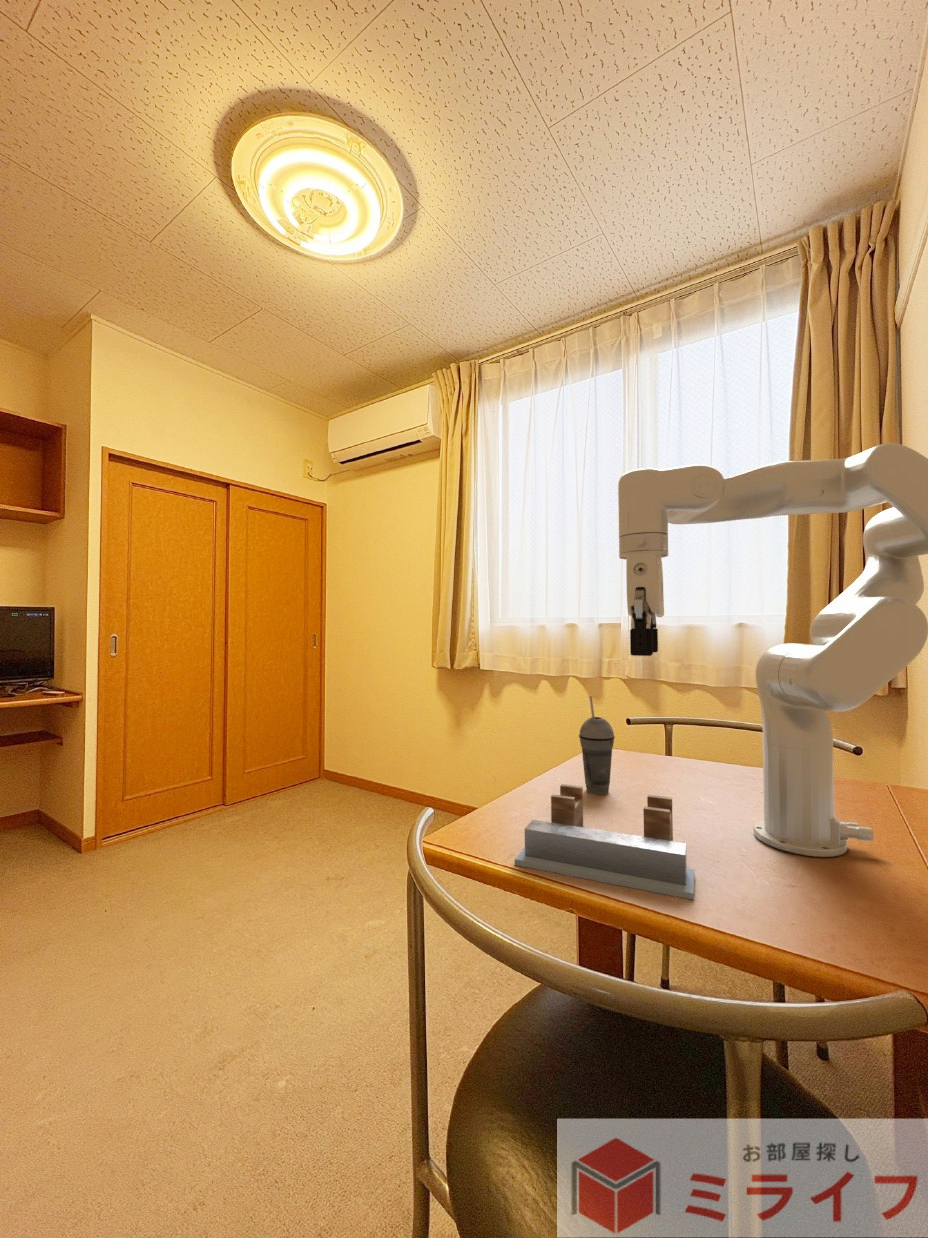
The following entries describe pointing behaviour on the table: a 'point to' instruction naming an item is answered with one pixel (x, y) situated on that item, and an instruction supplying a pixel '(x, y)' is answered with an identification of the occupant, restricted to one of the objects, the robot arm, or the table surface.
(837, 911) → the table surface
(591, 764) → the beverage cup
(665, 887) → the grey board
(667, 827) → the post near
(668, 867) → the rail
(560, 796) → the post far
